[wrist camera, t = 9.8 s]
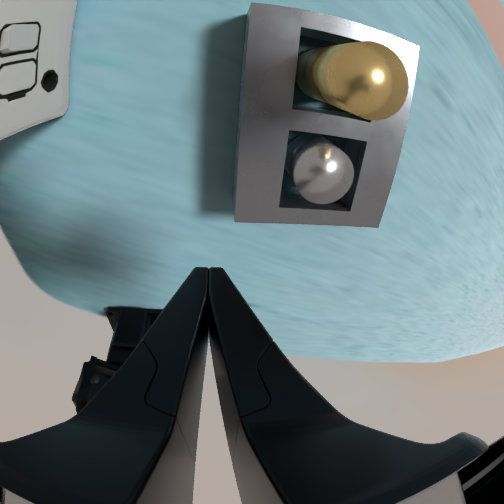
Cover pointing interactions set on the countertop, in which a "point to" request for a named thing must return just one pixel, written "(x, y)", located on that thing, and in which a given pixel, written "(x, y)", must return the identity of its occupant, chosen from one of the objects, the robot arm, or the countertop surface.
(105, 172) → the countertop surface
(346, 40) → the jig
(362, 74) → the gold domed cylinder
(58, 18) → the electrical switch
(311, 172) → the silver round knob
